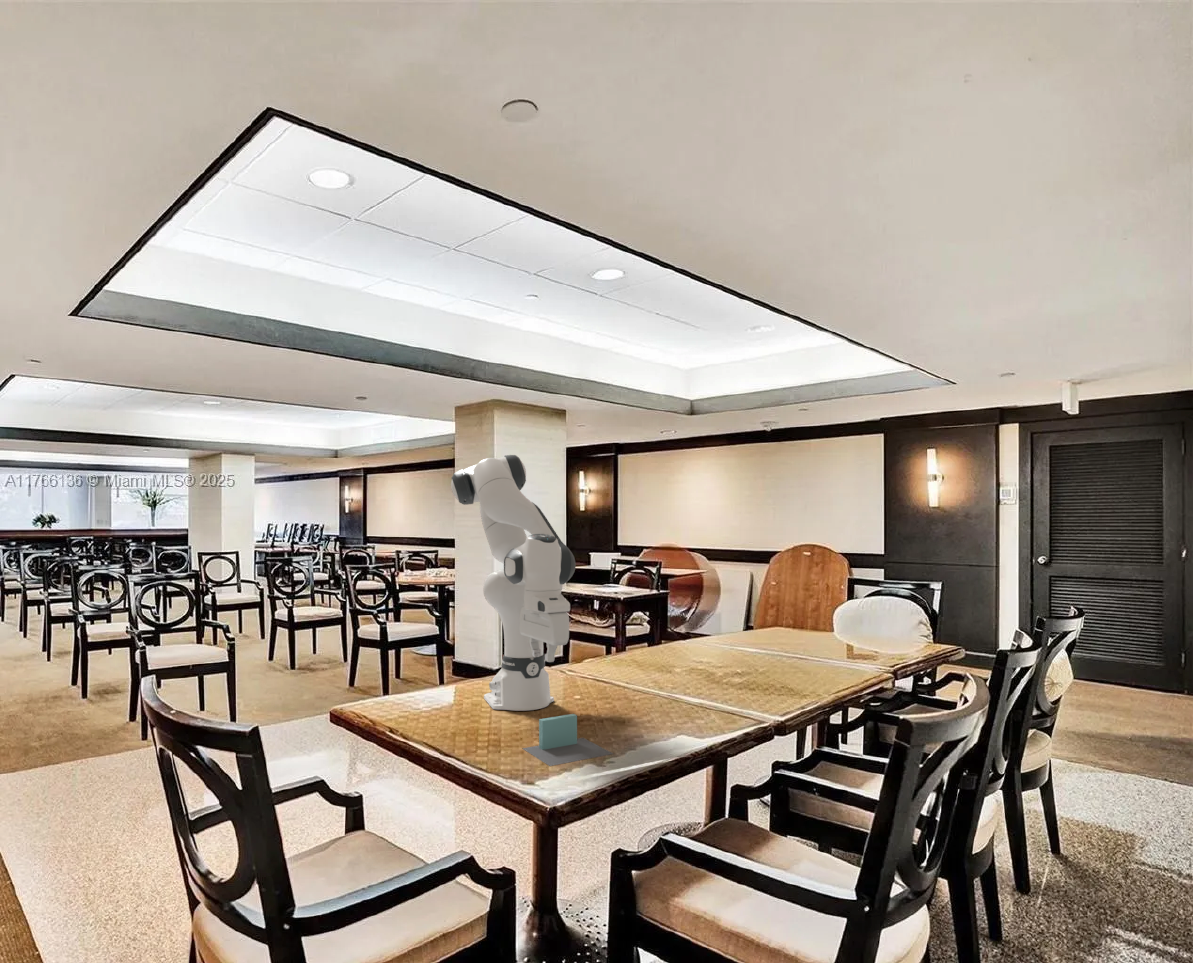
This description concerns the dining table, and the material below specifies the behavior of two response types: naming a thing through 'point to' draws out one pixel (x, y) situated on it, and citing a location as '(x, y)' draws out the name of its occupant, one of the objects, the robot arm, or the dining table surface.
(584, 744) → the mat
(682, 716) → the dining table surface
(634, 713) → the dining table surface
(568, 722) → the box
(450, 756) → the dining table surface
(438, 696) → the dining table surface
